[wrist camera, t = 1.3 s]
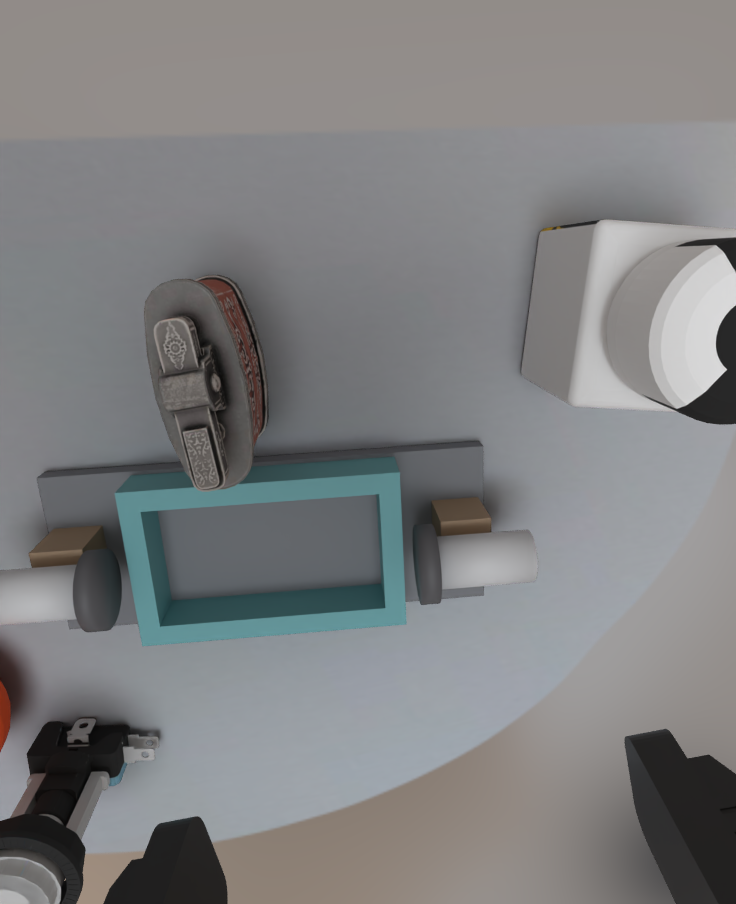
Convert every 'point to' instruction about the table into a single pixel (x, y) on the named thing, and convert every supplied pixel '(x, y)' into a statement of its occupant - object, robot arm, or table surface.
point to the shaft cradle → (265, 545)
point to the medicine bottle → (635, 318)
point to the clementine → (4, 715)
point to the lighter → (207, 377)
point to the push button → (61, 808)
